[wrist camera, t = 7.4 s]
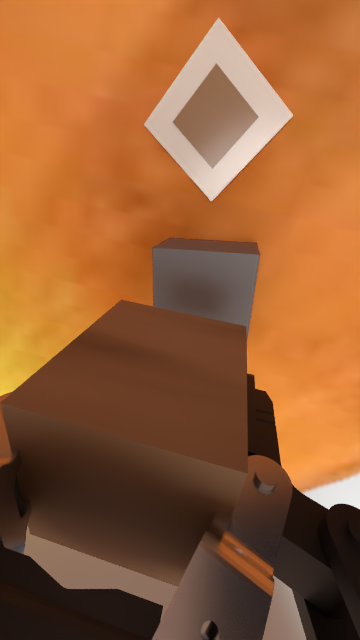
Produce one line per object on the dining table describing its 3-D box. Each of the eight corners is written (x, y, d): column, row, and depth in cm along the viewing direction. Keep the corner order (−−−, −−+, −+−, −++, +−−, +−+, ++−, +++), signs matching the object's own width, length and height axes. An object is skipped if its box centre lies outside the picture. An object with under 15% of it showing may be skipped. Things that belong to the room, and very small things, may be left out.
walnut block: (220, 421, 12) (201, 595, 7) (118, 394, 13) (30, 533, 8) (246, 326, 10) (248, 473, 5) (121, 299, 11) (0, 402, 5)
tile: (212, 201, 20) (210, 201, 20) (146, 126, 19) (142, 123, 19) (291, 118, 17) (293, 114, 17) (219, 23, 16) (218, 15, 16)
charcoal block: (245, 322, 24) (245, 350, 20) (169, 314, 25) (154, 338, 21) (256, 242, 21) (259, 254, 17) (170, 237, 22) (152, 247, 18)
